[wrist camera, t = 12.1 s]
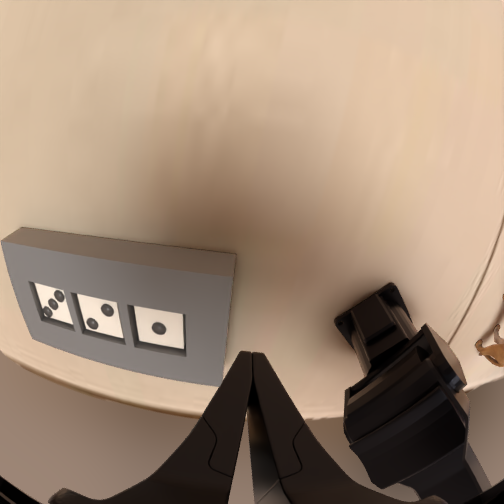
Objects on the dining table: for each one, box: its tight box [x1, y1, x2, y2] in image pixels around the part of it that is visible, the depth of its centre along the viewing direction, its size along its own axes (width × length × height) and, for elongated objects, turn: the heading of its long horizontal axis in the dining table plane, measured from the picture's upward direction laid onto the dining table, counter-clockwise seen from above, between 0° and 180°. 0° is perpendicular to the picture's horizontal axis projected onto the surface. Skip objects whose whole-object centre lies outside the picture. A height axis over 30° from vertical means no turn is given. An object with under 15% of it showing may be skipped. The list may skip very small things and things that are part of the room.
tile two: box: [77, 294, 124, 338], centre depth 21 cm, size 4×4×2 cm
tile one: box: [134, 306, 186, 349], centre depth 21 cm, size 4×4×2 cm
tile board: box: [1, 227, 236, 387], centre depth 21 cm, size 22×12×3 cm, turn 83°
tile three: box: [35, 283, 73, 324], centre depth 21 cm, size 4×4×2 cm
